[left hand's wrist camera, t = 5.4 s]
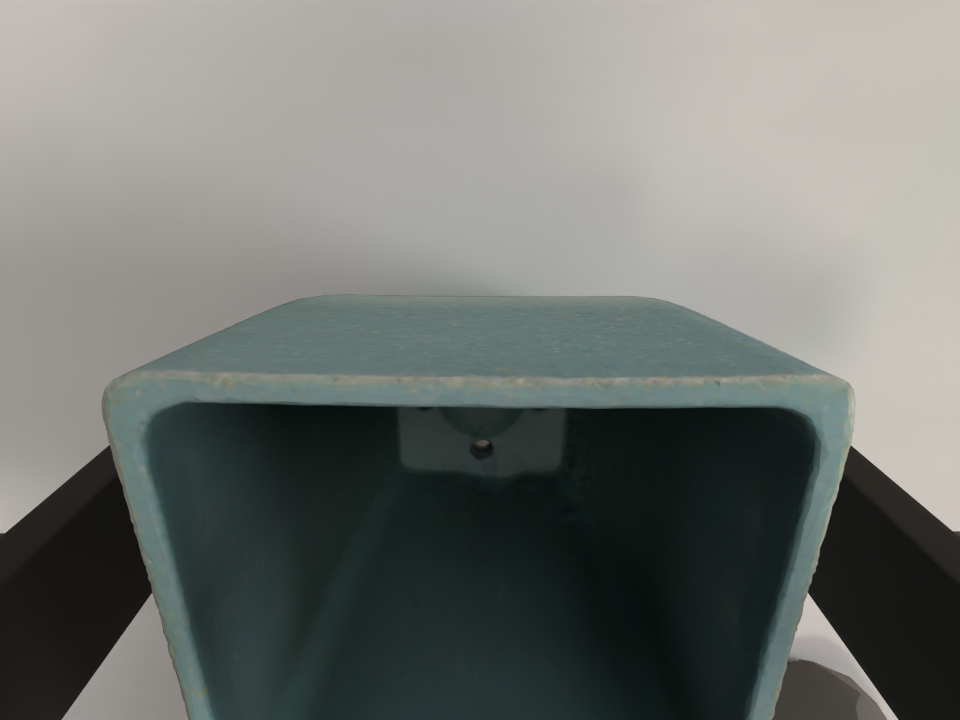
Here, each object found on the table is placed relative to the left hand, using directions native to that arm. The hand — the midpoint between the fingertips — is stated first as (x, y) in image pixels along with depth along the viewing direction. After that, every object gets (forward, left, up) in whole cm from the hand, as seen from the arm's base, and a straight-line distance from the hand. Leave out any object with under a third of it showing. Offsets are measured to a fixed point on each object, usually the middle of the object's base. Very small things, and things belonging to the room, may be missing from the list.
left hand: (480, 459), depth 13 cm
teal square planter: (0, 0, -4) cm, 4 cm away
